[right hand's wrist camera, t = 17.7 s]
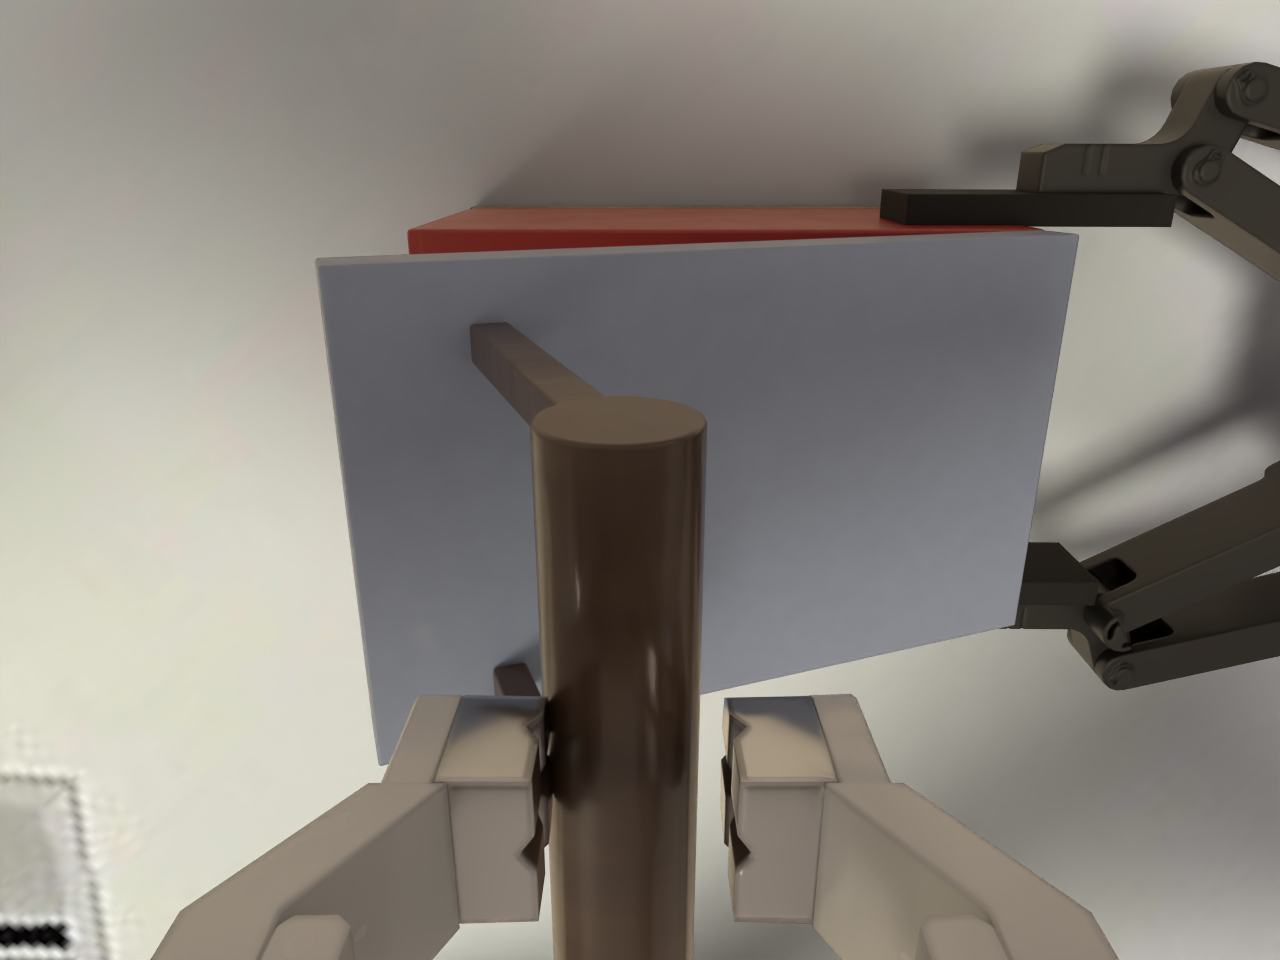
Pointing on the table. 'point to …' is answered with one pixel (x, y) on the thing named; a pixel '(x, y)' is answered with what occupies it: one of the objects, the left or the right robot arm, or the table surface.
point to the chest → (657, 226)
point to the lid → (678, 497)
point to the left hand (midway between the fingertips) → (874, 402)
